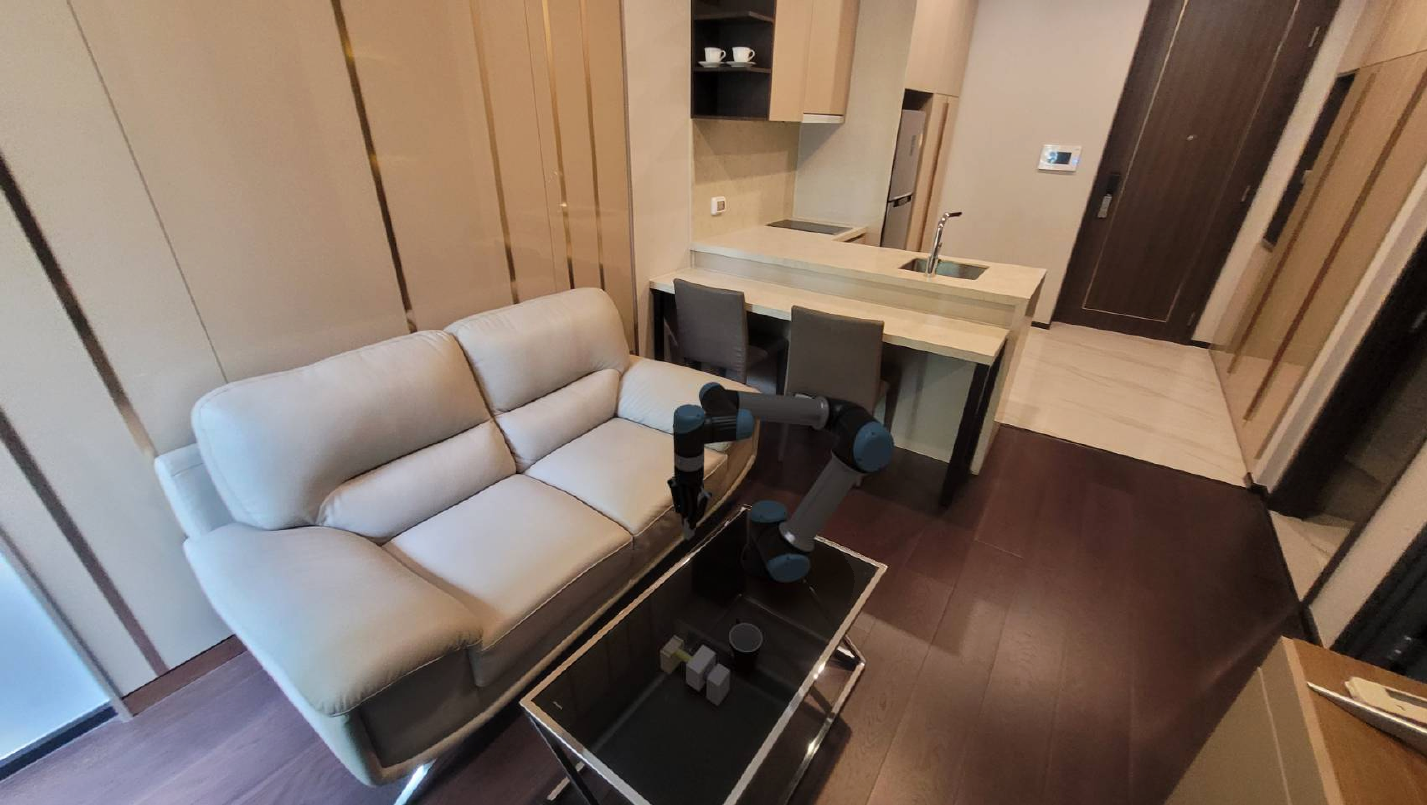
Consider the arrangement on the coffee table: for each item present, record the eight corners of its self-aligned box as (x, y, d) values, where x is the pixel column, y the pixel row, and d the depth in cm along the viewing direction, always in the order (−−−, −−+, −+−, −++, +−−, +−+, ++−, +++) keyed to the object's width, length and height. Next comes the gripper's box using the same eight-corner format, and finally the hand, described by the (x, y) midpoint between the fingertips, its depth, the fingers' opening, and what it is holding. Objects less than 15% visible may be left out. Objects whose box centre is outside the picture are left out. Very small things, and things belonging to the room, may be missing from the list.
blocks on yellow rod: (660, 668, 138) (660, 648, 134) (675, 652, 142) (674, 632, 139) (716, 707, 129) (717, 687, 125) (730, 689, 133) (731, 669, 130)
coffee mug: (757, 680, 136) (760, 655, 131) (725, 673, 137) (726, 648, 132) (763, 641, 146) (765, 617, 141) (732, 636, 147) (734, 611, 142)
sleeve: (686, 682, 132) (686, 665, 129) (702, 662, 137) (702, 644, 134) (698, 691, 130) (699, 673, 127) (715, 670, 135) (715, 652, 132)
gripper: (659, 462, 130) (661, 534, 141) (701, 480, 123) (700, 554, 134) (677, 448, 135) (678, 519, 146) (719, 466, 129) (717, 538, 140)
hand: (689, 536), depth 140 cm, fingers closed
